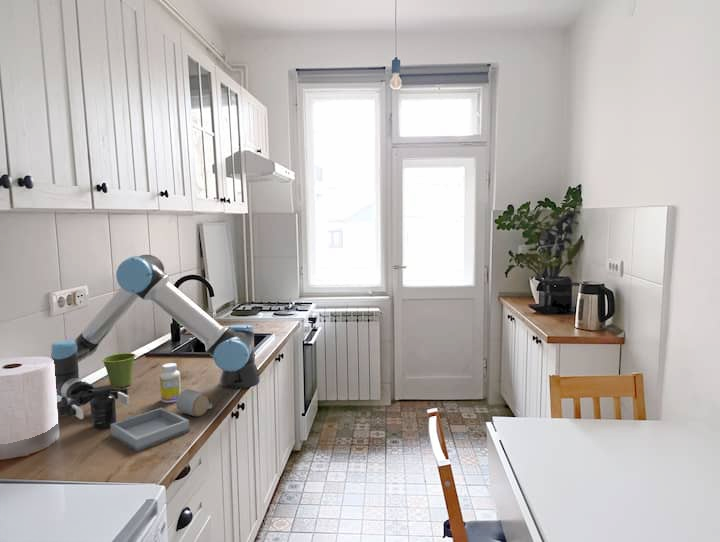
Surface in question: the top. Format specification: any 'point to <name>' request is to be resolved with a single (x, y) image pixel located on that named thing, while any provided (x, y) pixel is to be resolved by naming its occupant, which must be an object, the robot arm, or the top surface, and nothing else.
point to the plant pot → (119, 369)
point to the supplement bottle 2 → (170, 383)
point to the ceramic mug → (192, 403)
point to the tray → (149, 428)
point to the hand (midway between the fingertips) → (106, 407)
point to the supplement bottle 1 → (103, 408)
